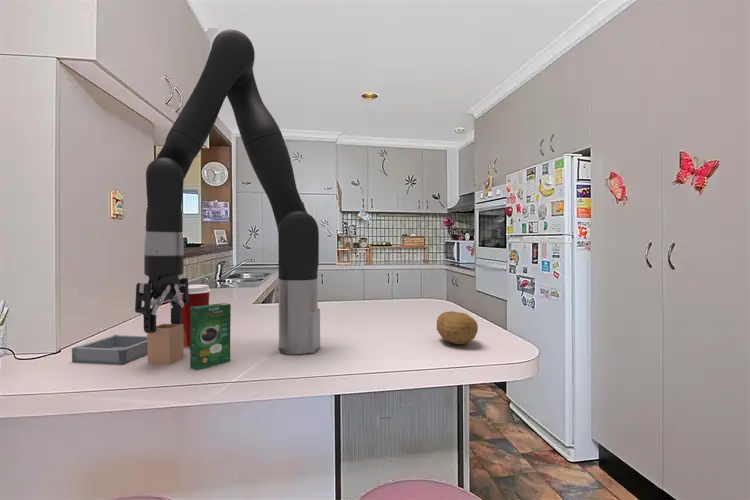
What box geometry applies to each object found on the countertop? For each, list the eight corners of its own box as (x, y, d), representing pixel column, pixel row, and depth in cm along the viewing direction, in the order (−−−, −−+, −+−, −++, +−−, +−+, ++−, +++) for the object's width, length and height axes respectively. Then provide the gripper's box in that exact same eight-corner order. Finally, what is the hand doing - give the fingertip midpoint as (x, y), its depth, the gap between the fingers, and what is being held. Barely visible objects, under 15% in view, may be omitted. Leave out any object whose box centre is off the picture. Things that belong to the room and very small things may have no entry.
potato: (459, 335, 114) (460, 307, 114) (486, 348, 100) (487, 316, 100) (427, 337, 111) (427, 308, 111) (450, 351, 98) (450, 318, 98)
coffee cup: (217, 341, 107) (216, 284, 106) (200, 350, 98) (200, 288, 98) (186, 341, 107) (185, 283, 107) (167, 349, 99) (166, 287, 99)
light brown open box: (183, 360, 91) (183, 324, 91) (169, 367, 86) (169, 329, 86) (163, 359, 92) (162, 323, 91) (147, 366, 87) (147, 328, 86)
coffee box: (224, 360, 91) (223, 301, 90) (232, 363, 89) (231, 302, 88) (189, 370, 84) (188, 306, 84) (197, 373, 82) (196, 308, 82)
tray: (160, 351, 98) (160, 336, 98) (123, 367, 86) (122, 350, 86) (115, 349, 99) (115, 334, 99) (72, 364, 88) (71, 348, 87)
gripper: (158, 255, 81) (157, 336, 81) (199, 252, 95) (198, 322, 95) (123, 254, 82) (123, 334, 82) (169, 251, 96) (169, 321, 96)
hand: (163, 328), depth 89 cm, fingers open, 8 cm apart
